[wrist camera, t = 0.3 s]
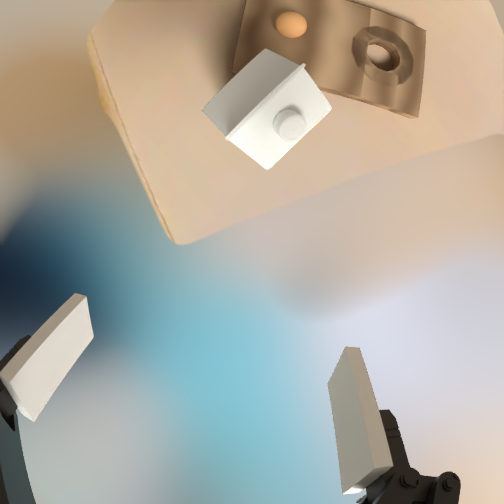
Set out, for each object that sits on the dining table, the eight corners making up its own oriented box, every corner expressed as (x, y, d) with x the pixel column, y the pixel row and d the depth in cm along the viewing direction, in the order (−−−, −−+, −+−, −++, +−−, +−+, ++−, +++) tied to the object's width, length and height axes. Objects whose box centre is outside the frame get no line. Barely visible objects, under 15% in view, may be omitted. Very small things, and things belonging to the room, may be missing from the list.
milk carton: (229, 121, 34) (185, 104, 16) (268, 83, 31) (263, 29, 14) (269, 159, 35) (266, 177, 18) (308, 121, 33) (345, 102, 15)
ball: (277, 16, 26) (278, 4, 22) (307, 21, 26) (310, 10, 22) (273, 39, 27) (273, 28, 24) (303, 44, 27) (306, 34, 24)
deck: (234, 75, 31) (231, 71, 29) (252, -9, 26) (250, -17, 24) (410, 118, 31) (418, 117, 29) (418, 35, 26) (425, 30, 24)
